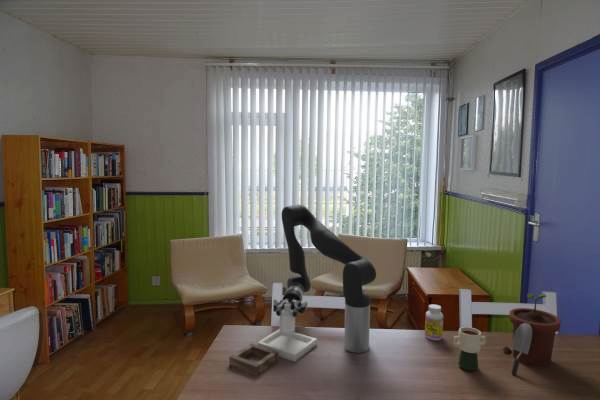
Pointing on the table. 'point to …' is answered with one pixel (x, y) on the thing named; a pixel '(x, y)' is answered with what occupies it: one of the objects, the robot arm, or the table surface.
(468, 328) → the character mug
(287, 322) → the eye dropper bottle
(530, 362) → the potted plant
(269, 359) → the walnut holder
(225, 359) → the table surface
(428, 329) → the supplement bottle
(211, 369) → the table surface
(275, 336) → the tray
